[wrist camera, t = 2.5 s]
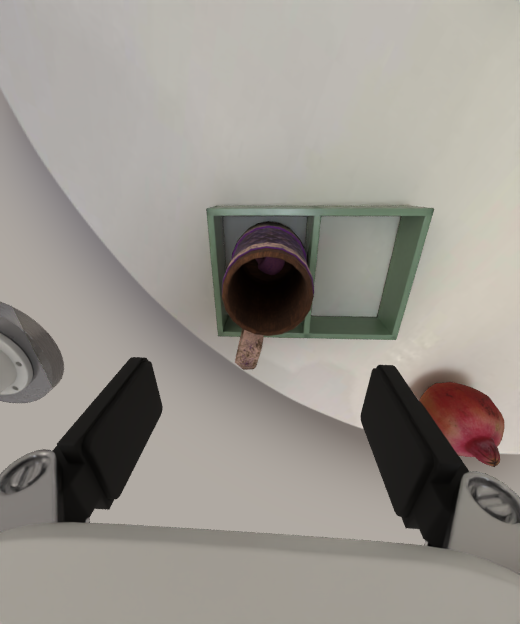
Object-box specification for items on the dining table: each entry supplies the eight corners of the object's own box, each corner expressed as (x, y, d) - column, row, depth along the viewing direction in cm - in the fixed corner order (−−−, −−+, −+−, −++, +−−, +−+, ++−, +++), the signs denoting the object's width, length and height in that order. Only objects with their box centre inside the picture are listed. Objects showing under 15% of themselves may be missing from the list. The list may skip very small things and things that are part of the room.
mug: (247, 209, 24) (228, 225, 13) (313, 233, 25) (345, 266, 14) (221, 299, 29) (191, 364, 18) (278, 317, 29) (282, 390, 19)
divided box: (224, 318, 30) (217, 336, 26) (215, 205, 24) (206, 208, 21) (381, 321, 29) (396, 340, 26) (409, 205, 23) (434, 208, 20)
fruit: (393, 405, 35) (435, 479, 26) (424, 361, 31) (485, 430, 22) (445, 417, 36) (503, 493, 27) (480, 375, 32) (562, 447, 23)
